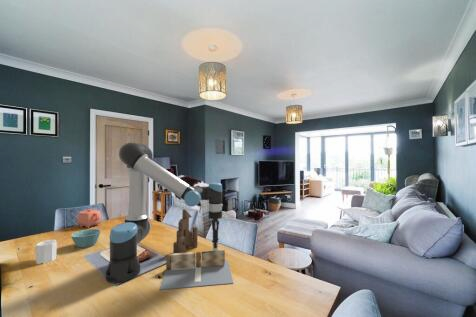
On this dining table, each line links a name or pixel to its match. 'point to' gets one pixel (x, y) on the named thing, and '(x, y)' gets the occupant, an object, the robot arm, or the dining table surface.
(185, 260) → the beige wooden panel
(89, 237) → the bowl
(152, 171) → the robot arm
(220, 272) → the card
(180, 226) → the wooden toy
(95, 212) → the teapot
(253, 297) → the dining table surface
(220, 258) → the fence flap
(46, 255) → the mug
